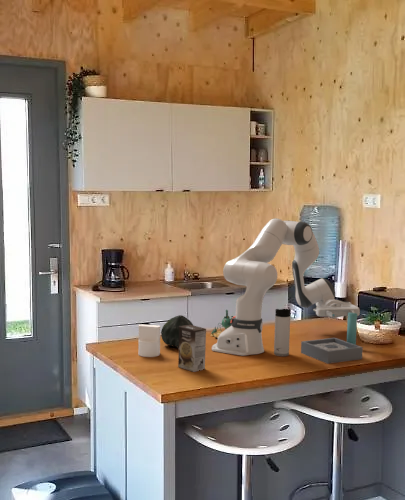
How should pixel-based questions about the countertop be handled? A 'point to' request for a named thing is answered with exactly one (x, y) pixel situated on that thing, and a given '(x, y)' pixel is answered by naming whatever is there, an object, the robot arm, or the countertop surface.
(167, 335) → the squash
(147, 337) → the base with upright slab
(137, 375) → the countertop surface
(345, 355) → the box
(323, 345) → the plate
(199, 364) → the coffee box
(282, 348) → the travel mug
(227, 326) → the frog figurine
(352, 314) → the peg
